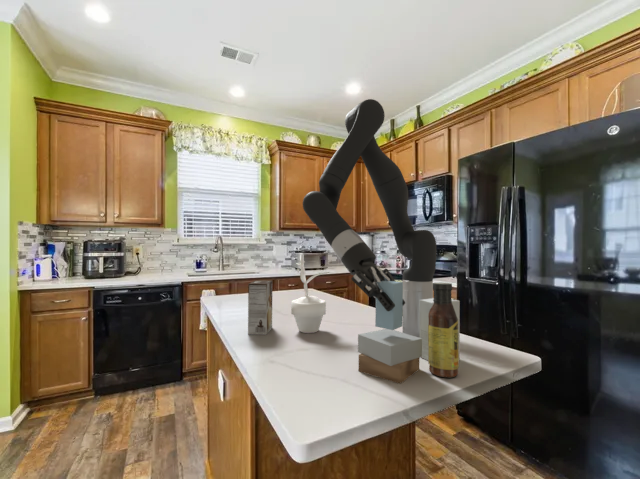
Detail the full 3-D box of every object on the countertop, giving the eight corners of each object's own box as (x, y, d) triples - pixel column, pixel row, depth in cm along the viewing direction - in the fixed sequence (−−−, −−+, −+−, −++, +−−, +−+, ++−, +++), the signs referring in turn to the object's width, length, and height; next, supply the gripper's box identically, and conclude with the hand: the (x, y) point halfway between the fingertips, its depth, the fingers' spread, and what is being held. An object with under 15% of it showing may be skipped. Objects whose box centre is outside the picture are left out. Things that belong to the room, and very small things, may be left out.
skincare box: (442, 352, 82) (442, 296, 83) (461, 360, 77) (461, 299, 77) (417, 357, 79) (418, 298, 79) (436, 365, 73) (436, 302, 74)
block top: (388, 344, 77) (388, 328, 77) (422, 356, 69) (422, 338, 69) (357, 351, 72) (358, 334, 72) (390, 366, 63) (390, 346, 63)
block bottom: (380, 360, 77) (380, 344, 78) (419, 370, 71) (419, 353, 71) (358, 372, 70) (358, 354, 70) (400, 385, 63) (400, 366, 63)
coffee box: (253, 327, 107) (254, 280, 107) (272, 327, 107) (273, 280, 107) (247, 334, 98) (247, 283, 98) (267, 334, 98) (268, 283, 98)
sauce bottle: (461, 380, 65) (461, 285, 66) (430, 377, 66) (430, 284, 67) (454, 368, 72) (454, 281, 72) (426, 366, 73) (426, 281, 73)
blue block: (384, 323, 74) (385, 280, 74) (402, 326, 71) (402, 282, 71) (375, 326, 70) (375, 282, 70) (393, 330, 67) (393, 283, 68)
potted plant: (285, 334, 98) (286, 255, 99) (297, 325, 110) (298, 254, 110) (324, 337, 95) (324, 255, 96) (332, 328, 106) (333, 254, 107)
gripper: (344, 240, 70) (393, 300, 62) (377, 241, 81) (421, 293, 73) (326, 262, 74) (369, 323, 66) (359, 261, 85) (400, 312, 76)
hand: (397, 307), depth 69 cm, fingers closed on blue block, 4 cm apart
